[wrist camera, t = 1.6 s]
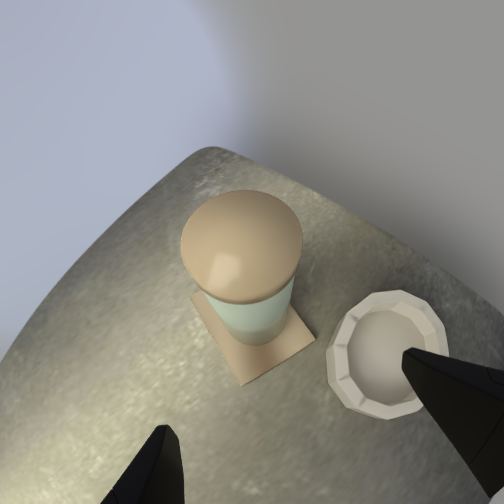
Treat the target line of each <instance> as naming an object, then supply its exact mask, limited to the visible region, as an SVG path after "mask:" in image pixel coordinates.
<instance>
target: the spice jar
mask: <svg viewBox="0 0 504 504" xmlns="http://www.w3.org/2000/svg"><path fill="white" fill-rule="evenodd" d="M302 245H303V233H302V229H301V225H300V223H299V220H298V218H297V217H296V215H295V214H294V212H293V211H292V210H291V209H290V208H289V207H288V206H287V205H286V204H285V203H284V202H282V201H281V200H279V199H278V198H276V197H274V196H272V195H270V194H267V193H263V192H259V191H253V190H237V191H231V192H226V193H223V194H220V195H218V196H215V197H213V198H211V199H210V200H208V201H206V202H205V203H203V204H202V205H201V206H200V207H199V208H198V209H196V210H195V212H194V213H193V214H192V215H191V216H190V218H189V219H188V221H187V223H186V225H185V227H184V229H183V232H182V236H181V246H180V247H181V255H182V259H183V262H184V264H185V266H186V268H187V270H188V271H189V273H190V275H191V276H192V278H193V280H194V281H195V283H196V284H197V285H198V286H199V288H200V289H201V290H202V291H203V292H204V294H205V295H206V297H207V299H208V300H209V302H210V304H211V305H212V307H213V308H214V310H215V312H216V313H217V315H218V316H219V318H220V319H221V321H222V323H223V324H224V326H225V327H226V329H227V330H228V332H229V333H230V335H231V336H232V337H233V338H234V339H236V340H237V341H239V342H240V343H243V344H246V345H250V346H259V345H264V344H267V343H269V342H271V341H273V340H274V339H275V338H276V337H277V336H278V335H279V334H280V333H281V332H282V330H283V328H284V326H285V322H286V318H287V313H288V308H289V303H290V298H291V293H292V288H293V283H294V277H295V273H296V271H297V268H298V265H299V262H300V257H301V252H302Z"/></svg>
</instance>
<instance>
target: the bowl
mask: <svg viewBox="0 0 504 504" xmlns="http://www.w3.org/2000/svg"><path fill="white" fill-rule="evenodd" d="M411 347H414V348H418V349H421V350H425V351H428V352H432V353H436V354H439V355H443V356H447V357H449V351H448V345H447V339H446V333H445V327H444V325H443V323H442V322H441V321H440V319H439V318H438V316H437V315H436V314H435V312H434V311H433V310H432V308H431V307H430V306H429V304H428V303H427V302H426V301H424V300H422V299H420V298H418V297H415V296H413V295H411V294H409V293H407V292H405V291H402V290H395V291H386V292H377V293H371V294H370V295H369V296H368V297H366V298H365V299H364V300H362V301H361V302H360V303H359V304H357V305H356V306H355V307H353V308H352V309H351V310H349V311H348V312H347V313H346V314H345V315H344V316H343V318H342V319H341V320H340V321H339V322H338V324H337V326H336V329H335V331H334V333H333V336H332V338H331V340H330V342H329V345H328V347H327V349H326V362H327V374H328V382H329V385H330V386H331V387H332V389H333V390H334V392H335V393H336V394H337V396H338V397H339V399H340V400H341V401H342V403H343V404H344V406H345V407H346V408H349V409H351V410H354V411H357V412H359V413H362V414H365V415H368V416H370V417H373V418H379V419H386V420H388V419H392V418H396V417H399V416H403V415H406V414H410V413H413V412H416V411H418V410H419V409H420V408H421V407H422V406H423V404H422V403H421V401H420V400H419V398H418V397H417V395H416V393H415V392H414V390H413V388H412V387H411V385H410V383H409V382H408V380H407V378H406V377H405V375H404V373H403V371H402V368H401V364H402V354H403V352H404V351H405V350H407V349H409V348H411Z"/></svg>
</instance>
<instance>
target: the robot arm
mask: <svg viewBox="0 0 504 504" xmlns="http://www.w3.org/2000/svg"><path fill="white" fill-rule="evenodd" d="M401 368H402V371H403V373H404V375H405V377H406V378H407V380H408V382H409V383H410V385H411V387H412V388H413V390H414V392H415V393H416V395H417V397H418V398H419V400H420V401H421V403H422V404H423V405H424V406H425V408H426V409H427V410H428V412H429V413H430V414H431V416H432V417H433V418H434V420H435V421H436V422H437V424H438V425H439V426H440V428H441V429H442V430H443V432H444V433H445V435H446V436H447V437H448V439H449V440H450V441H451V443H452V444H453V446H454V447H455V448H456V450H457V451H458V453H459V454H460V455H461V457H462V458H463V460H464V461H465V463H466V464H467V465H468V466H469V469H470V470H471V471H472V473H473V474H474V476H475V477H476V479H477V480H478V482H479V483H480V485H481V486H482V488H483V489H484V491H485V492H486V494H487V495H488V497H489V498H491V497H492V496H493V495H495V494H496V493H497V492H498V491H499V490H500V489H501V488H503V487H504V371H503V370H498V369H494V368H490V367H485V366H481V365H477V364H473V363H469V362H465V361H462V360H458V359H454V358H450V357H447V356H443V355H439V354H436V353H432V352H428V351H425V350H421V349H418V348H414V347H411V348H409V349H407V350H405V351H404V352H403V354H402V364H401ZM100 504H185V500H184V474H183V467H182V460H181V452H180V445H179V439H178V437H177V435H176V434H175V433H174V431H173V430H172V429H171V427H170V426H169V425H159V426H157V427H156V428H155V430H154V431H153V432H152V434H151V435H150V437H149V438H148V439H147V441H146V442H145V444H144V445H143V446H142V448H141V449H140V451H139V452H138V453H137V455H136V456H135V458H134V459H133V460H132V462H131V463H130V465H129V466H128V467H127V469H126V470H125V471H124V473H123V474H122V475H121V477H120V478H119V480H118V481H117V482H116V484H115V485H114V486H113V488H112V489H111V490H110V492H109V493H108V494H107V496H106V497H105V498H104V499H103V501H102V502H101V503H100Z"/></svg>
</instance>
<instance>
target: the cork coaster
mask: <svg viewBox="0 0 504 504" xmlns="http://www.w3.org/2000/svg"><path fill="white" fill-rule="evenodd" d="M189 297H190V299H191V300H192V302H193V304H194V306H195V308H196V310H197V311H198V313H199V315H200V317H201V319H202V320H203V322H204V324H205V326H206V328H207V329H208V331H209V333H210V335H211V336H212V338H213V340H214V341H215V343H216V345H217V347H218V348H219V350H220V352H221V353H222V355H223V357H224V358H225V360H226V362H227V363H228V365H229V366H230V368H231V370H232V371H233V373H234V375H235V376H236V378H237V379H238V381H239V383H240V384H241V386H244V385H245V384H247V383H249V382H251V381H252V380H254V379H256V378H257V377H259V376H261V375H262V374H264V373H266V372H267V371H269V370H271V369H272V368H274V367H275V366H277V365H279V364H280V363H282V362H283V361H285V360H286V359H288V358H290V357H291V356H293V355H294V354H296V353H297V352H299V351H300V350H302V349H303V348H305V347H306V346H308V345H309V344H311V343H312V342H313V341H315V340H316V339H315V338H314V337H313V335H312V334H311V332H310V331H309V330H308V328H307V327H306V325H305V324H304V323H303V321H302V320H301V318H300V317H299V316H298V314H297V313H296V311H295V310H294V309H293V307H292V306H291V305H290V303H289V308H288V313H287V318H286V322H285V326H284V328H283V330H282V332H281V333H280V334H279V335H278V336H277V337H276V338H275V339H274V340H273V341H271V342H269V343H267V344H264V345H259V346H250V345H246V344H243V343H240V342H239V341H237V340H236V339H234V338H233V337H232V336H231V335H230V333H229V332H228V330H227V329H226V327H225V326H224V324H223V323H222V321H221V319H220V318H219V316H218V315H217V313H216V312H215V310H214V308H213V307H212V305H211V304H210V302H209V300H208V299H207V297H206V295H205V294H204V292H203V291H202V290H200V291H198V292H196V293H194V294H193V295H191V296H189Z"/></svg>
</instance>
